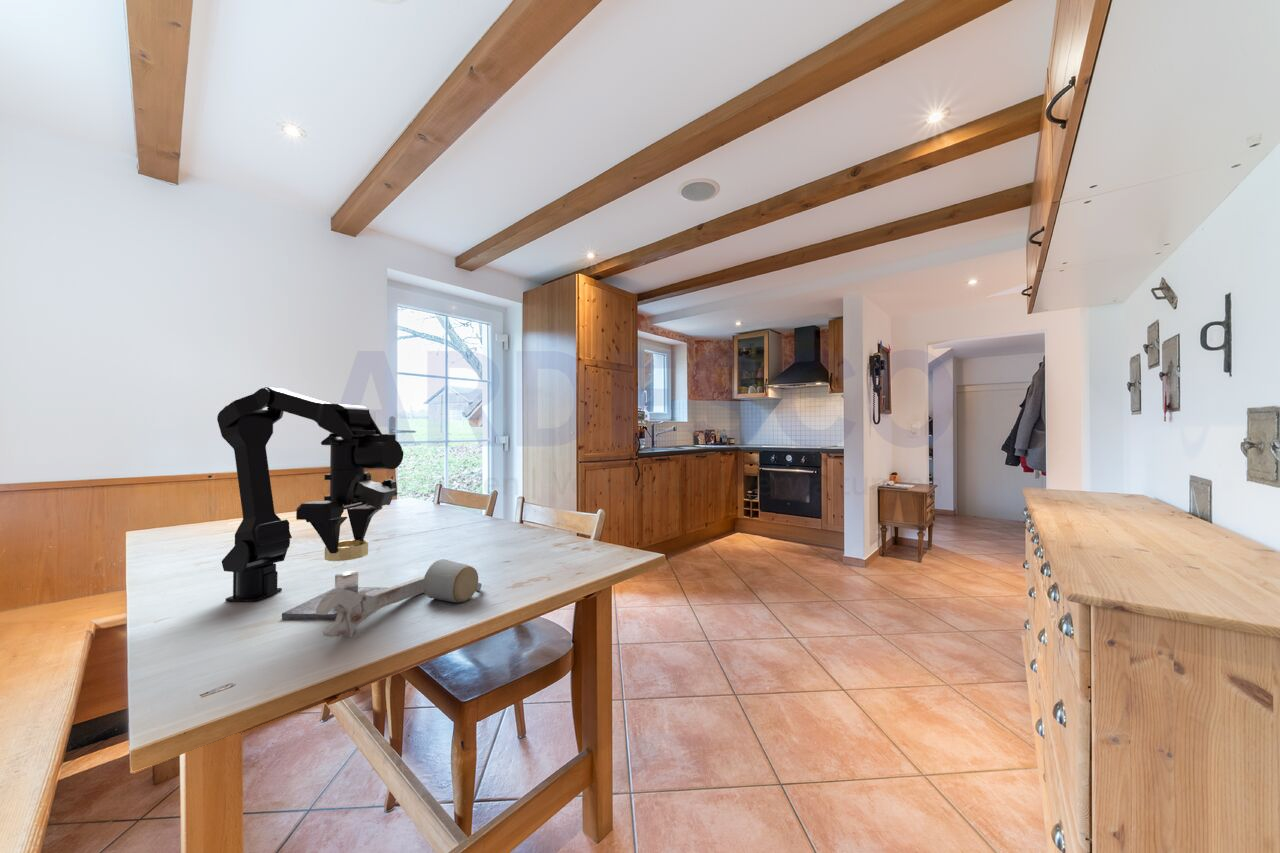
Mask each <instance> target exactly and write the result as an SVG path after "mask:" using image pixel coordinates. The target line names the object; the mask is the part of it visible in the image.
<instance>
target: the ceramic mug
mask: <svg viewBox="0 0 1280 853" xmlns="http://www.w3.org/2000/svg"><path fill="white" fill-rule="evenodd" d="M424 576H425V577H424V583H423V587H424V591H425V592H424V594H425V595H426V596H427V597H428V598H430V599H434V600H440V601H446V602H451V603H457V604H458V603H464V602H467V601H468V600H469V599H471V598H472V597H473V595H474V594H475V593H476V591H477V592H479V591H481V588H482V583H480V582H479V573H478V571H477V569H476V568H475V567H473V566H471V565H469V564H466V563H461V562H457V561H452V560H449V559H444V558H441V559H438V560H435V561H434V562H433V563H432V564H431V565H430V566H429V568H427V571H426V573H425V574H424Z"/></svg>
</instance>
